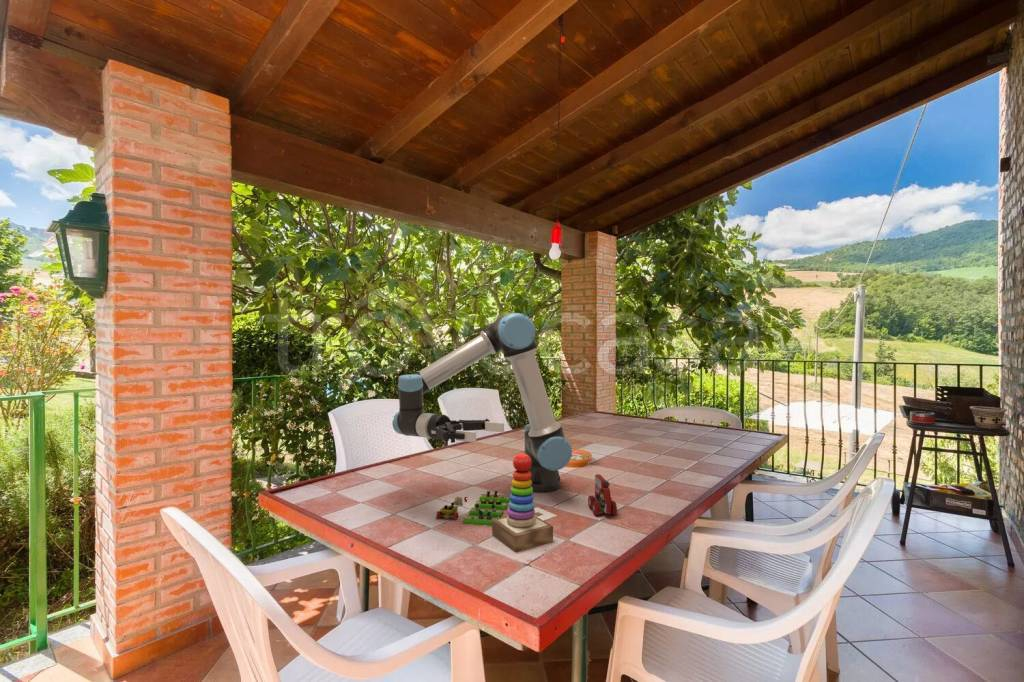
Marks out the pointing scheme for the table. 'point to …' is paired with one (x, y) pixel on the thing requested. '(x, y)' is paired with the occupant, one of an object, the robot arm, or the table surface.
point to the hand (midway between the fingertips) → (490, 432)
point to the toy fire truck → (602, 498)
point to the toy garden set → (478, 509)
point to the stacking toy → (521, 494)
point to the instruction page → (543, 514)
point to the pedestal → (522, 534)
